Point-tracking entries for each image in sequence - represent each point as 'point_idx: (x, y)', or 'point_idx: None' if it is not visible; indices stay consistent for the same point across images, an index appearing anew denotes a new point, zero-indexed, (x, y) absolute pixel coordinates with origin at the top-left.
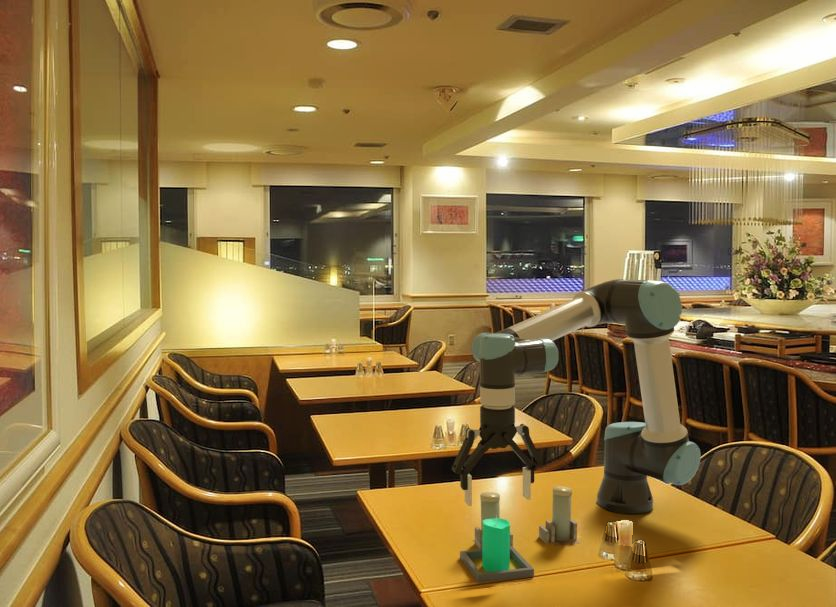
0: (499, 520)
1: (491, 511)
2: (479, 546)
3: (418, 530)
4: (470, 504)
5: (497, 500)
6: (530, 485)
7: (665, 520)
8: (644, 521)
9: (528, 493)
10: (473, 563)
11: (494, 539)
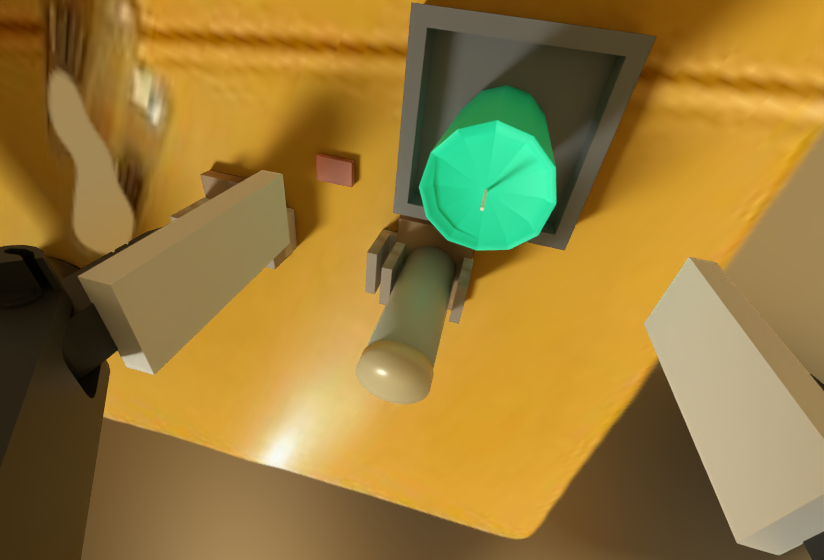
0: (447, 221)
1: (415, 320)
2: (472, 265)
3: (533, 408)
4: (704, 264)
5: (380, 344)
6: (198, 208)
7: (4, 209)
8: (47, 225)
9: (252, 187)
10: (590, 150)
11: (534, 123)
